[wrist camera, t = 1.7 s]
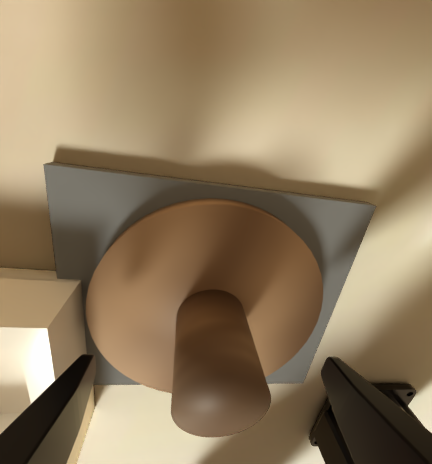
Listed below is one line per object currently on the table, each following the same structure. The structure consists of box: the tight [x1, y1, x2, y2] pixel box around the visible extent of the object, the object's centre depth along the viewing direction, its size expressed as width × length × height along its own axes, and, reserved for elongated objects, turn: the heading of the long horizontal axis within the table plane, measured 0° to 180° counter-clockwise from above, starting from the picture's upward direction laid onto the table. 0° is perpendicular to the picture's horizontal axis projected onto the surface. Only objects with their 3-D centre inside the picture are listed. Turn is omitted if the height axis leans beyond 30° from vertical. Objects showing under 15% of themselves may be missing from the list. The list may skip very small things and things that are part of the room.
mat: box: [44, 162, 376, 385], centre depth 12 cm, size 14×12×1 cm
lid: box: [86, 198, 323, 437], centre depth 10 cm, size 11×11×5 cm
